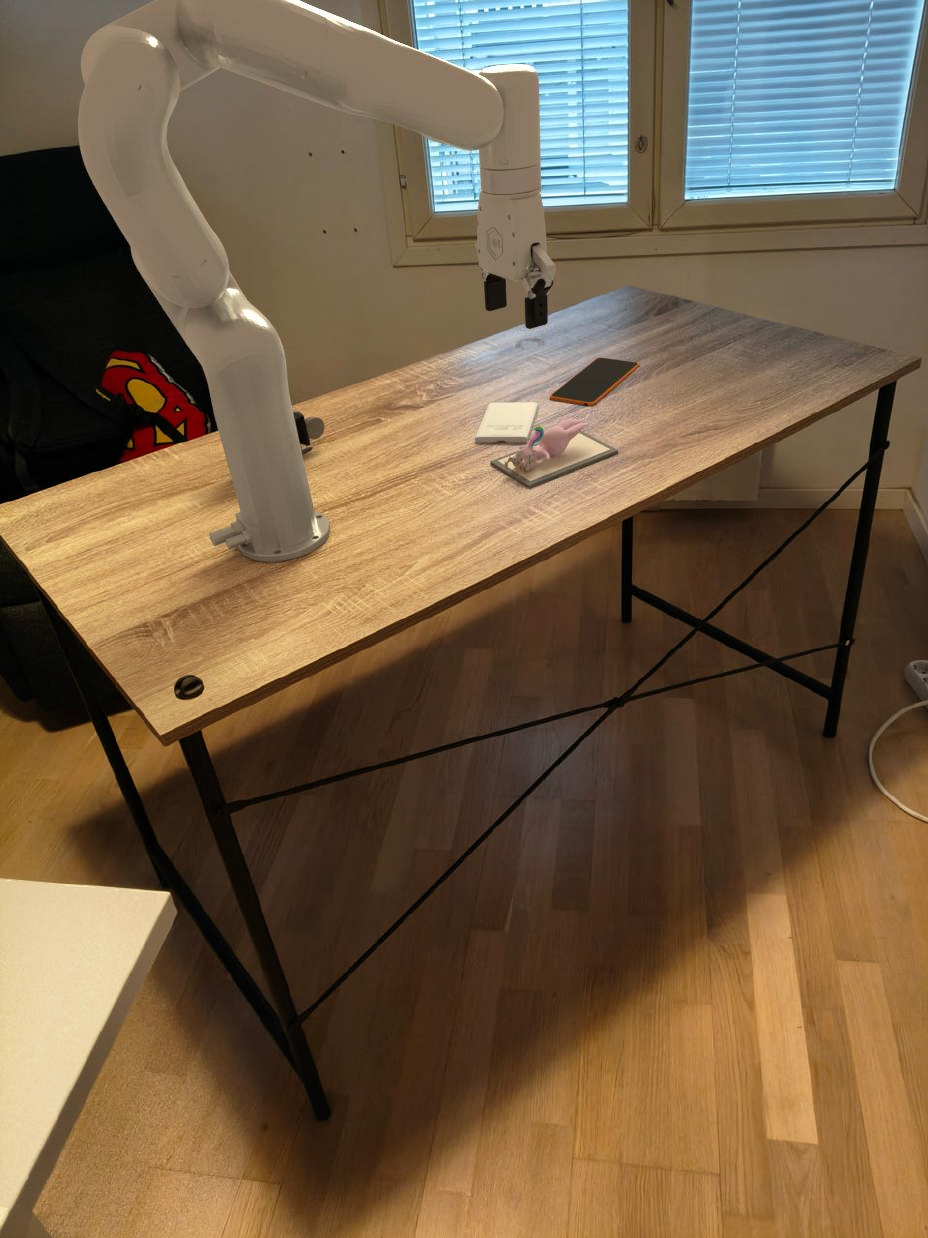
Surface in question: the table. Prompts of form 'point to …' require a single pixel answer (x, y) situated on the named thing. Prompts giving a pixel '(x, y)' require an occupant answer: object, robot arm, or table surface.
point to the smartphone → (594, 381)
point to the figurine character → (307, 429)
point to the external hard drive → (507, 422)
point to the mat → (559, 460)
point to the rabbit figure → (546, 444)
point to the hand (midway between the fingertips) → (515, 317)
